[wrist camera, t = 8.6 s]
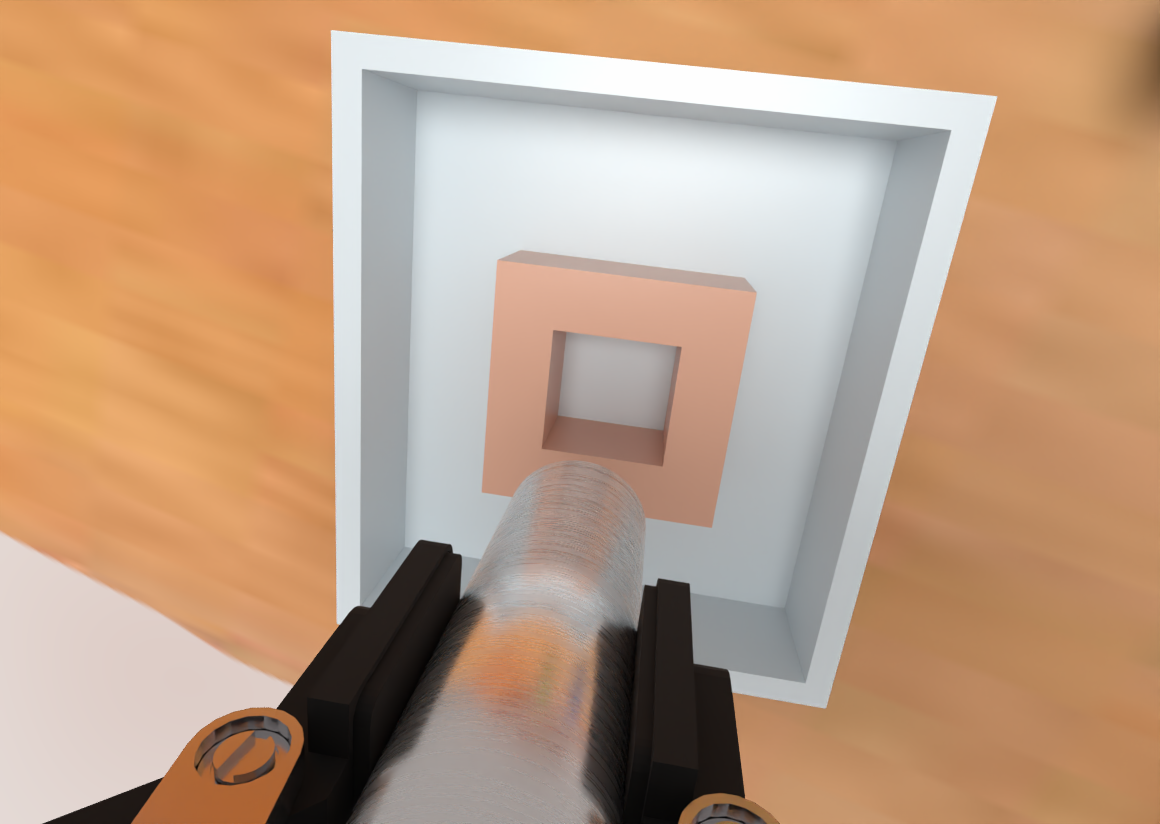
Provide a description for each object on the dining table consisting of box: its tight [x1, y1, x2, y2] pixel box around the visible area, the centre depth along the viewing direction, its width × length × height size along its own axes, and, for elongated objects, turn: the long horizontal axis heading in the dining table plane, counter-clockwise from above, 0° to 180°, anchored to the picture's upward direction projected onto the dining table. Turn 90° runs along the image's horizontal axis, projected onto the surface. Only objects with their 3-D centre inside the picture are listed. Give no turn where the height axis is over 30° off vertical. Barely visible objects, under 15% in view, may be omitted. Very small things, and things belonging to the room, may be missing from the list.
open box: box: [331, 30, 997, 709], centre depth 27 cm, size 20×22×6 cm
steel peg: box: [346, 460, 646, 824], centre depth 10 cm, size 3×3×12 cm
